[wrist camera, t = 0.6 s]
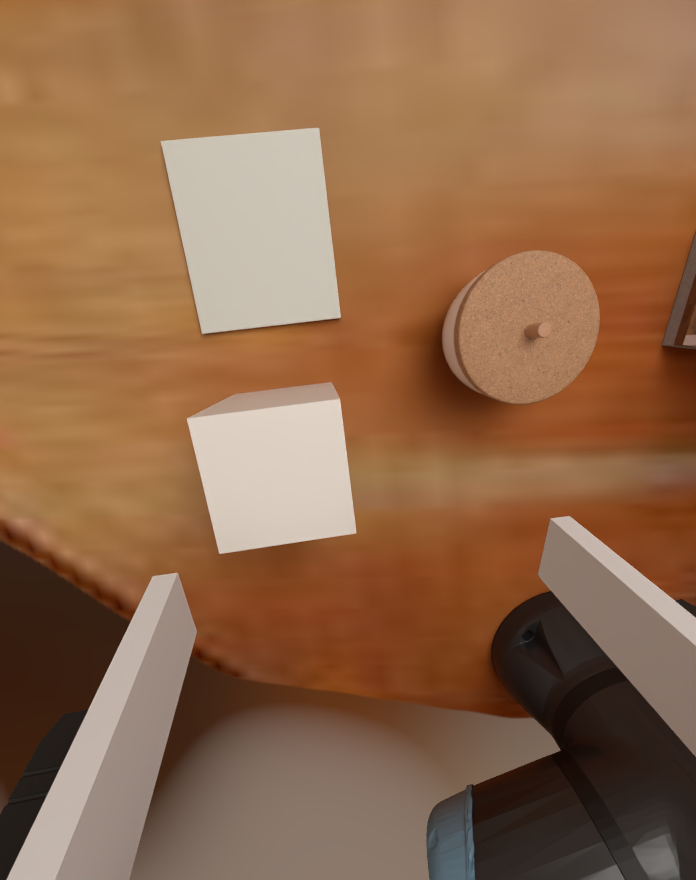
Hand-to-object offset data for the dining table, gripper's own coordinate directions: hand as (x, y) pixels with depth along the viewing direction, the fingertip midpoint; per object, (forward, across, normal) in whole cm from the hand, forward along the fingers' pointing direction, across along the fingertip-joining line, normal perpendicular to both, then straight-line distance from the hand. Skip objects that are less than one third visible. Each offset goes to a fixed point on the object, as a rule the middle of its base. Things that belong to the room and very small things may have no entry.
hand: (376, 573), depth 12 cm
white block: (+22, +3, +3) cm, 23 cm away
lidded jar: (+22, -15, -5) cm, 28 cm away
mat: (+25, +4, -14) cm, 28 cm away
